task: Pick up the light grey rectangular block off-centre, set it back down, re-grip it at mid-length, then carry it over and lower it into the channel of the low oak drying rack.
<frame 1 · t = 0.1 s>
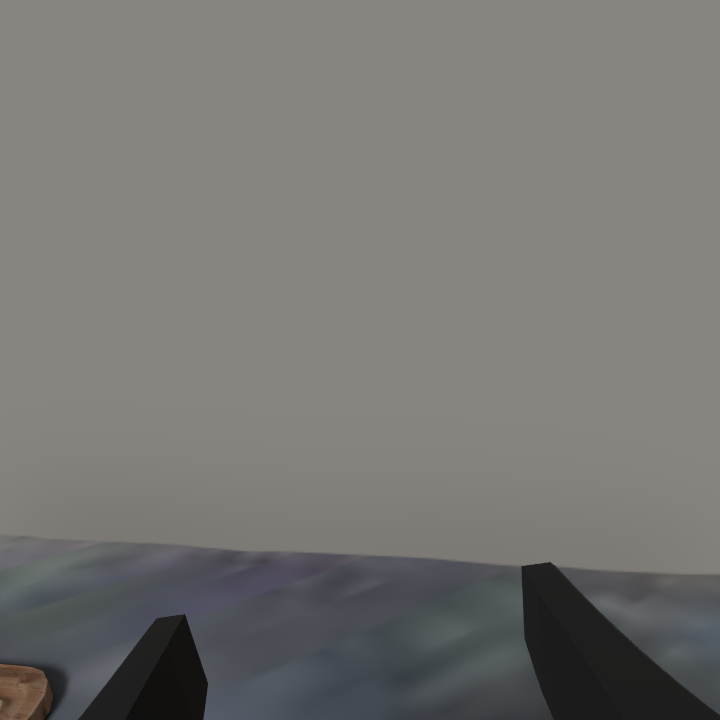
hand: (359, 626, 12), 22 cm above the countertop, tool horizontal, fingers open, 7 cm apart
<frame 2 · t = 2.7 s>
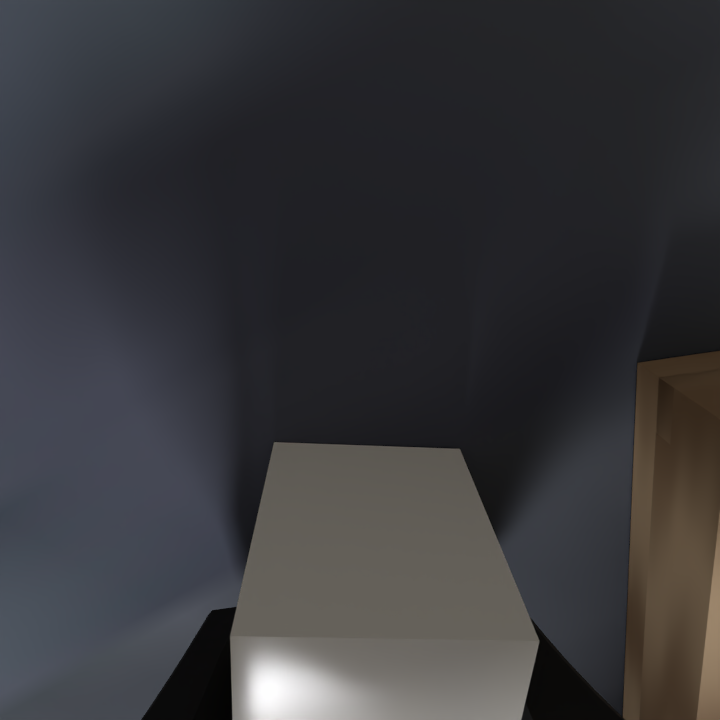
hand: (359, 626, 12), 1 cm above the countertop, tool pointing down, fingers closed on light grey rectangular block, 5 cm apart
light grey rectangular block: (349, 683, 14), on the countertop, touching gripper
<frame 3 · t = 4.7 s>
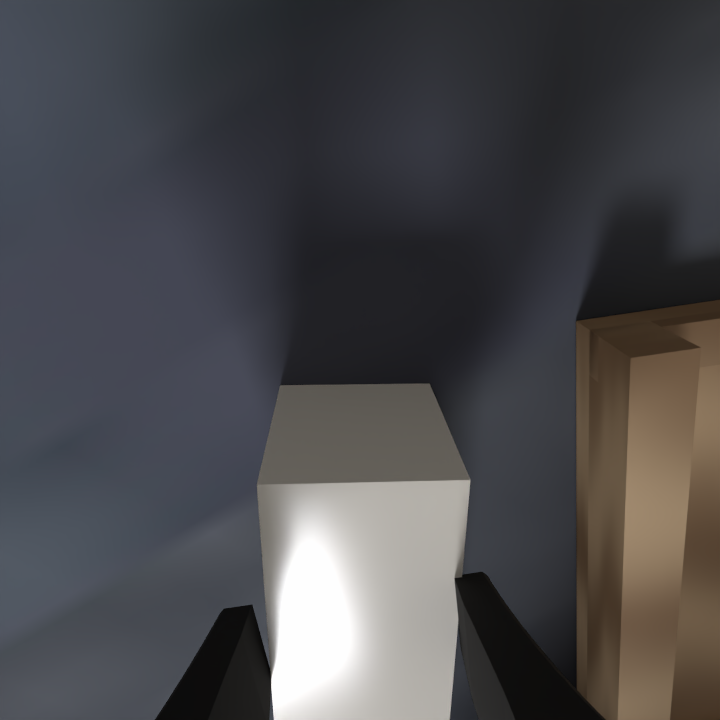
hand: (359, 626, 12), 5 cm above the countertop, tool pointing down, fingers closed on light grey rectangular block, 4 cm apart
light grey rectangular block: (354, 583, 17), on the countertop, touching gripper
when the fingers open (2 cm above the countertop, at t = 5.5 s): light grey rectangular block stays where it is, on the countertop.
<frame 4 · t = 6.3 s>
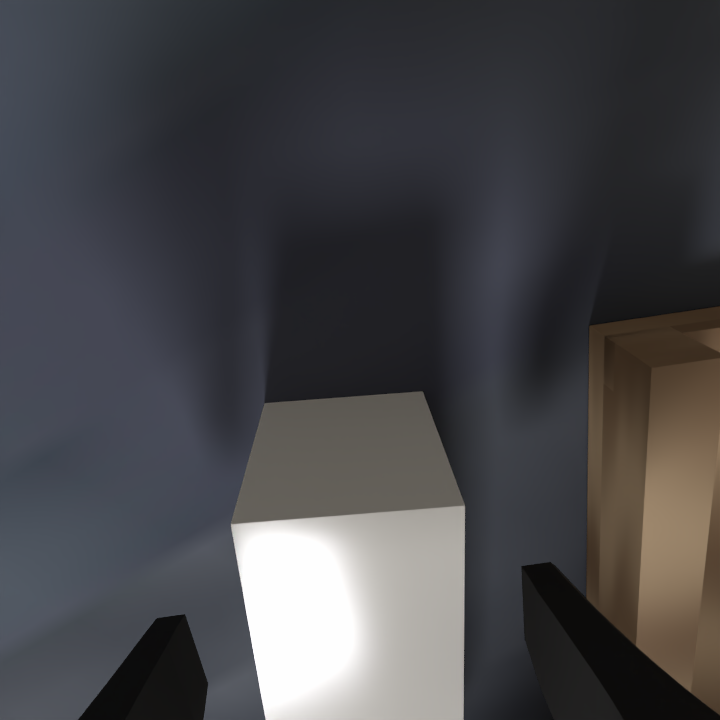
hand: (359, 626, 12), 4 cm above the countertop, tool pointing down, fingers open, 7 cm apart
light grey rectangular block: (360, 604, 16), on the countertop
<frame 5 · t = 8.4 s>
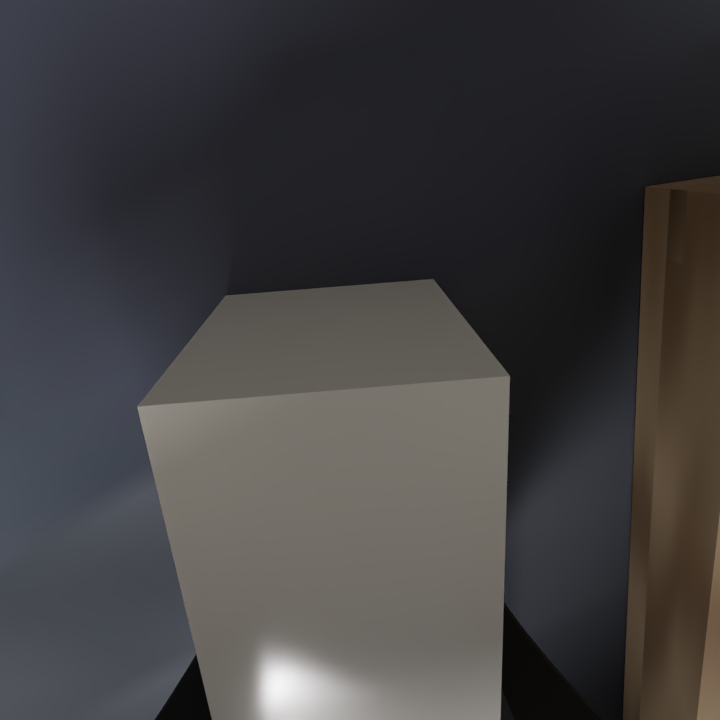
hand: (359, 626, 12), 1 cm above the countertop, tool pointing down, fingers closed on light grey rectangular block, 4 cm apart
light grey rectangular block: (356, 574, 13), on the countertop, touching gripper
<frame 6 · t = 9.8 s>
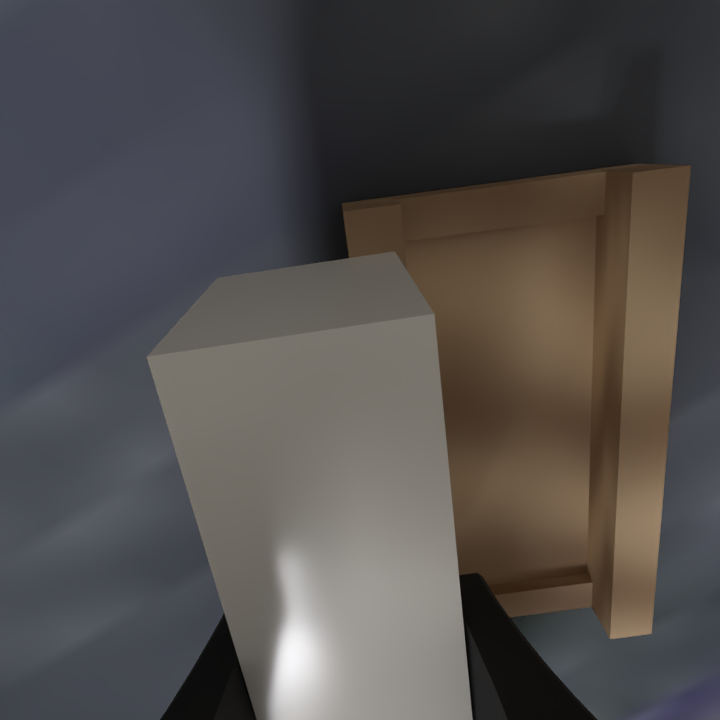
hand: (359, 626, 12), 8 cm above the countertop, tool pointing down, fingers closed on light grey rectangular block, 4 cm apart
light grey rectangular block: (351, 520, 15), point 5 cm above the countertop, touching gripper
oak rack: (497, 417, 19), on the countertop
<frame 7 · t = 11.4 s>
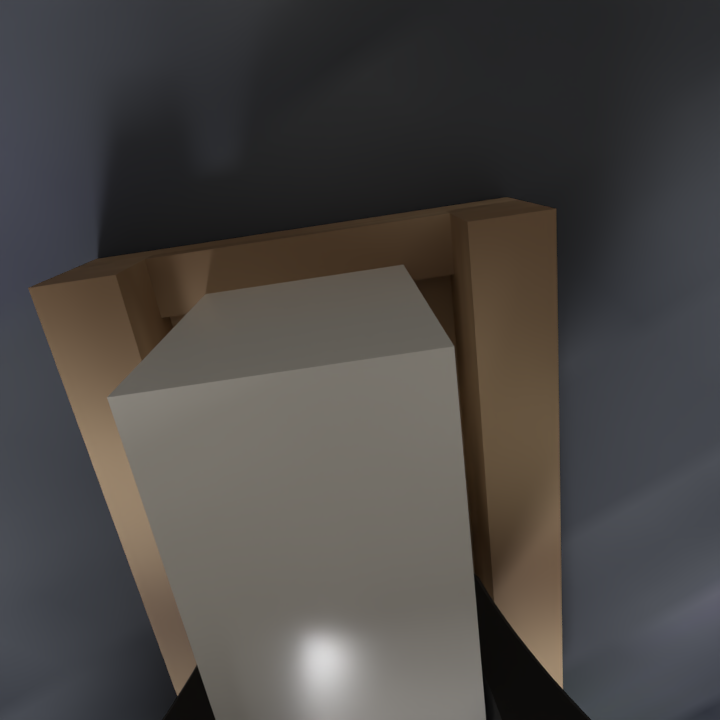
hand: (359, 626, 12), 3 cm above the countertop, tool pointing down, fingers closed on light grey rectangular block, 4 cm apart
light grey rectangular block: (354, 558, 13), point 1 cm above the countertop, touching gripper, oak rack
oak rack: (354, 529, 15), on the countertop
when the fingers open (3 cm above the countertop, at t = 11.5 s): light grey rectangular block stays where it is, resting on oak rack.
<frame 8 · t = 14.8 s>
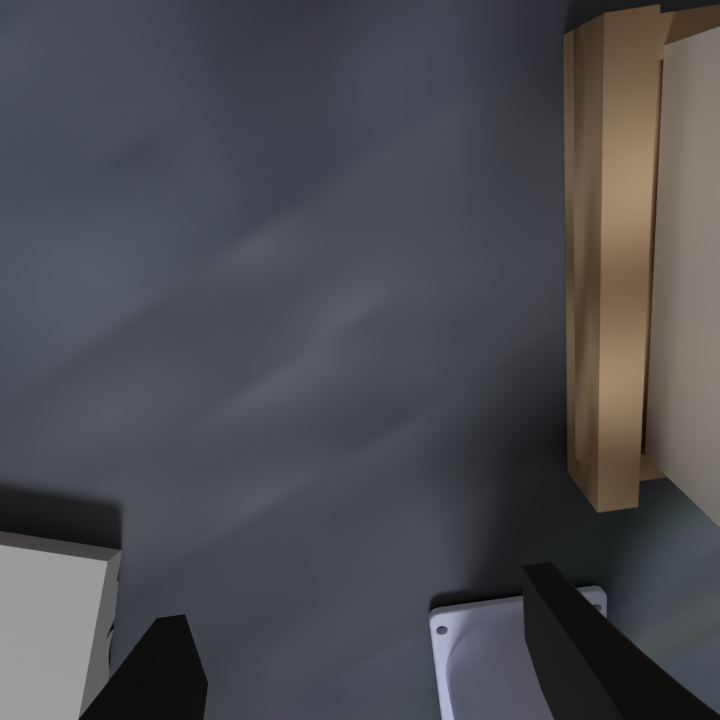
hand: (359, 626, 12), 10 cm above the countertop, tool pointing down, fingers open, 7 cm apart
light grey rectangular block: (711, 268, 19), point 1 cm above the countertop, touching oak rack
oak rack: (688, 265, 20), on the countertop
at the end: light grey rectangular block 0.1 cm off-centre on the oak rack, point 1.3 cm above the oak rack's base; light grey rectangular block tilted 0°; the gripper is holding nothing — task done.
